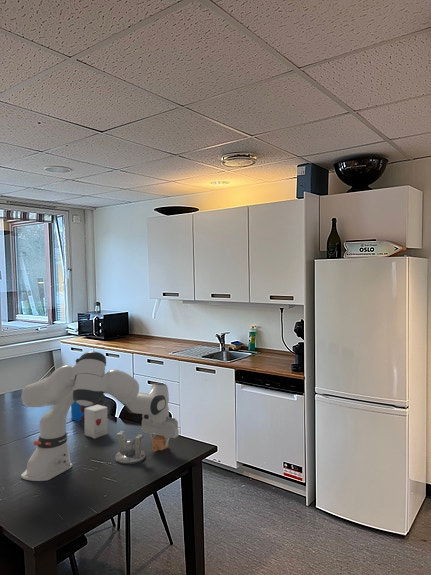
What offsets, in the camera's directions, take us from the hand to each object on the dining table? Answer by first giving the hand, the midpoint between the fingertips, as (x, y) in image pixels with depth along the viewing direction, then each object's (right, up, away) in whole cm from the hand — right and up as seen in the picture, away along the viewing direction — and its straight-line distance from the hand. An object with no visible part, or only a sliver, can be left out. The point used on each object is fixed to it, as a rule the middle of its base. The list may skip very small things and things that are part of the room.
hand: (160, 443), depth 210 cm
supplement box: (-38, -4, +22) cm, 44 cm away
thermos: (-55, -3, +50) cm, 74 cm away
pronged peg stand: (-13, -4, -8) cm, 16 cm away
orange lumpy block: (0, -2, 0) cm, 2 cm away
